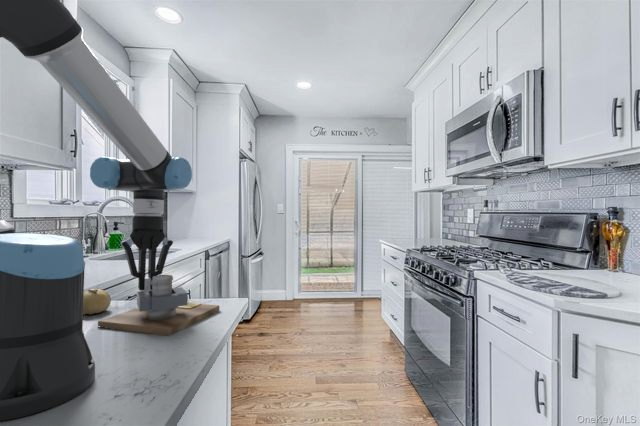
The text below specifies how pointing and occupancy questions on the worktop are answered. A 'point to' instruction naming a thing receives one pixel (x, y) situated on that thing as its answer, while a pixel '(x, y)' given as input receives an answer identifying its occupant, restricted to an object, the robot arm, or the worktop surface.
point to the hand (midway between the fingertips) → (145, 301)
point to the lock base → (158, 326)
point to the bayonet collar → (161, 300)
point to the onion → (95, 301)
